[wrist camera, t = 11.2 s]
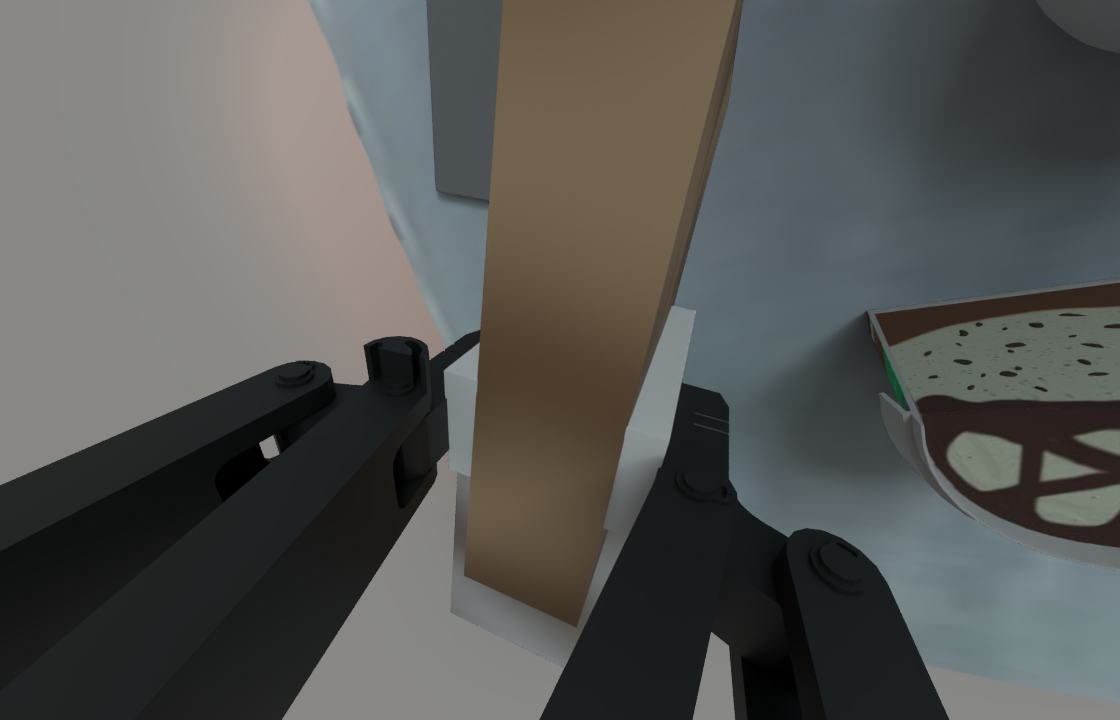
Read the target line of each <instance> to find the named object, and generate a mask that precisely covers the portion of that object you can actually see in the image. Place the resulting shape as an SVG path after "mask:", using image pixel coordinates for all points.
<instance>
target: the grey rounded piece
mask: <svg viewBox="0 0 1120 720" xmlns="http://www.w3.org/2000/svg"><path fill="white" fill-rule="evenodd" d="M1036 2H1037V3H1038V5H1039V6H1040V8H1041V9H1042V10H1043V12H1044V13H1045V14H1046V15H1047V16H1048V17H1049V18H1050V19H1051V20H1052V21H1053V22H1054V23H1055V24H1056V25H1057V26H1059V27H1060V28H1061V29H1062V30H1064V31H1065V32H1066V33H1068V34H1069V35H1071V36H1072V37H1074V38H1075V39H1077V40H1079V41H1080V42H1082V43H1085V44H1087V45H1089V46H1092V47H1095V48H1099V49H1103V50H1106V51H1111V52H1115V53H1120V0H1036Z"/></svg>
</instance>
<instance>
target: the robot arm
mask: <svg viewBox="0 0 1120 720" xmlns="http://www.w3.org/2000/svg"><path fill="white" fill-rule="evenodd" d="M695 315H696V311H694V310H690V309H685V308H681V307H676V306H672V307H671V310H670V312H669V315H668V318H667V321H666V323H665V326H664V329H663V332H662V334H661V337H660V340H659V343H658V345H657V348H656V351H655V353H654V356H653V359H652V362H651V364H650V367H649V370H648V373H647V375H646V378H645V381H644V384H643V386H642V389H641V392H640V395H639V397H638V400H637V403H636V405H635V408H634V411H633V414H632V416H631V419H630V422H629V425H628V427H627V428H626V432H625V436H624V443H623V447H622V452H621V456H620V460H619V464H618V468H617V472H616V476H615V480H614V484H613V488H612V493H611V497H610V501H609V505H608V509H607V513H606V517H605V521H604V525H603V528H604V529H606V530H609V531H612V532H614V533H617V534H619V535H622V536H625V537H627V539H626V541H625V543H624V545H623V547H622V550H621V552H620V554H619V556H618V558H617V560H616V562H615V564H614V566H613V568H612V570H611V572H610V574H609V577H608V579H607V581H606V583H605V585H604V587H603V589H602V591H601V593H600V595H599V597H598V599H597V601H596V604H595V606H594V608H593V610H592V612H591V614H590V616H589V618H588V620H587V622H586V624H585V626H584V628H583V631H582V633H581V635H580V637H579V639H578V641H577V643H576V645H575V647H574V649H573V651H572V653H571V655H570V657H569V660H568V662H567V664H566V666H565V668H564V670H563V672H562V674H561V676H560V678H559V680H558V682H557V684H556V687H555V689H554V691H553V693H552V695H551V697H550V699H549V701H548V703H547V705H546V707H545V709H544V712H543V714H542V716H541V718H540V720H693V715H694V710H695V705H696V700H697V696H698V691H699V686H700V682H701V677H702V672H703V667H704V662H705V658H706V653H707V648H708V643H709V639H710V634H711V632H713V633H714V634H715V635H717V636H718V637H719V638H720V639H721V640H723V641H724V642H725V643H726V644H728V645H729V650H730V662H731V673H732V685H733V698H734V710H735V720H949V718H948V716H947V714H946V711H945V709H944V707H943V705H942V703H941V700H940V698H939V696H938V694H937V691H936V689H935V687H934V685H933V683H932V681H931V678H930V676H929V674H928V672H927V670H926V667H925V665H924V663H923V661H922V658H921V656H920V654H919V652H918V650H917V647H916V645H915V643H914V641H913V639H912V636H911V634H910V632H909V630H908V627H907V625H906V623H905V621H904V619H903V616H902V614H901V612H900V610H899V608H898V605H897V603H896V601H895V599H894V597H893V594H892V592H891V590H890V588H889V586H888V584H887V582H886V580H885V579H884V577H883V576H882V574H881V573H880V571H879V570H878V568H877V566H876V565H874V564H873V563H872V562H871V561H870V560H869V559H868V558H867V557H866V556H865V555H864V554H863V553H862V552H861V551H860V550H859V549H857V548H856V547H854V546H853V545H851V544H850V543H848V542H847V541H845V540H844V539H842V538H840V537H837V536H835V535H833V534H830V533H828V532H825V531H823V530H815V529H808V528H806V529H802V530H798V531H795V532H793V533H792V535H791V536H790V537H789V538H788V537H787V536H785V535H783V534H782V533H780V532H778V531H777V530H775V529H773V528H772V527H770V526H768V525H767V524H765V523H763V522H762V521H760V520H759V519H758V518H756V517H755V516H753V515H752V514H751V513H750V512H748V511H747V510H746V509H745V508H744V507H743V506H742V505H741V504H740V502H739V501H738V500H737V492H736V491H735V489H734V487H733V485H732V484H731V482H730V480H729V435H728V433H729V423H728V422H729V407H728V405H727V404H726V402H725V400H724V399H723V397H722V396H721V394H720V393H716V392H713V391H709V390H706V389H702V388H698V387H695V386H691V385H687V384H684V383H682V378H683V373H684V368H685V363H686V358H687V354H688V349H689V344H690V339H691V334H692V329H693V325H694V320H695ZM480 331H481V330H478V331H475V332H472V333H469V334H466V335H465V336H463V337H462V338H460V339H459V340H458V341H456V342H455V343H454V345H453V344H452V345H451V346H449V347H448V348H446V349H445V351H442V352H441V353H439V354H438V355H436V356H435V357H434V358H432V359H431V360H429V351H428V346H427V345H426V344H425V343H424V342H422V341H421V340H418V339H415V338H412V337H402V336H396V337H385V338H381V339H377V340H373V341H371V342H369V343H367V344H365V345H364V350H365V357H366V363H367V369H368V375H369V380H368V381H367V382H366V383H365V384H364V385H362V386H360V385H349V384H338V383H334V382H333V377H332V373H331V368H329V367H328V366H327V365H326V364H324V363H319V362H316V361H296V362H291V363H286V364H284V365H281V366H277V367H274V368H272V369H269V370H267V371H265V372H263V373H260V374H258V375H256V376H253V377H251V378H249V379H246V380H244V381H242V382H239V383H237V384H235V385H232V386H230V387H228V388H225V389H223V390H221V391H219V392H216V393H214V394H211V395H209V396H207V397H204V398H202V399H200V400H197V401H195V402H193V403H191V404H188V405H186V406H184V407H181V408H179V409H177V410H174V411H172V412H170V413H167V414H165V415H163V416H160V417H158V418H156V419H153V420H151V421H149V422H146V423H144V424H142V425H139V426H137V427H135V428H132V429H130V430H128V431H125V432H123V433H121V434H118V435H116V436H114V437H112V438H109V439H107V440H105V441H102V442H100V443H98V444H95V445H93V446H91V447H88V448H86V449H84V450H81V451H79V452H77V453H74V454H72V455H70V456H67V457H65V458H63V459H60V460H58V461H56V462H53V463H51V464H49V465H47V466H44V467H42V468H39V469H37V470H35V471H32V472H30V473H28V474H26V475H23V476H21V477H19V478H16V479H14V480H12V481H10V482H7V483H5V484H2V485H0V720H282V718H283V717H284V715H285V714H286V712H287V711H288V709H289V708H290V706H291V704H292V703H293V701H294V700H295V698H296V697H297V695H298V694H299V692H300V690H301V689H302V687H303V685H304V684H305V683H306V681H307V680H308V678H309V676H310V675H311V673H312V672H313V670H314V668H315V667H316V665H317V664H318V662H319V661H320V659H321V658H322V656H323V654H324V653H325V652H326V650H327V648H328V647H329V645H330V643H331V642H332V641H333V639H334V638H335V636H336V634H337V633H338V631H339V630H340V628H341V627H342V625H343V624H344V622H345V620H346V619H347V617H348V616H349V614H350V613H351V611H352V610H353V608H354V606H355V604H356V603H357V602H358V600H359V599H360V597H361V596H362V594H363V592H364V591H365V589H366V588H367V586H368V585H369V583H370V582H371V580H372V578H373V577H374V575H375V574H376V572H377V571H378V569H379V567H380V566H381V564H382V563H383V561H384V560H385V558H386V557H387V555H388V554H389V552H390V550H391V549H392V547H393V546H394V544H395V542H396V541H397V539H398V538H399V536H400V535H401V533H402V532H403V530H404V529H405V527H406V526H407V524H408V522H409V521H410V519H411V518H412V516H413V515H414V513H415V512H416V510H417V508H418V507H419V505H420V504H421V502H422V501H423V499H424V498H425V496H426V494H427V493H428V491H429V490H430V488H431V487H432V485H433V484H434V482H435V479H436V476H437V462H438V461H439V460H440V459H441V457H442V456H443V455H444V454H445V453H446V452H447V451H448V464H449V469H451V470H454V471H456V472H459V473H461V474H464V475H467V476H469V477H471V463H472V449H473V434H474V419H475V405H476V392H477V385H478V380H477V375H478V361H479V346H480ZM272 435H273V436H274V439H275V442H276V445H277V448H278V451H279V455H278V456H275V457H273V458H270V459H267V458H264V456H263V453H262V450H261V447H260V445H259V443H260V442H261V441H263V440H265V439H267V438H269V437H270V436H272Z"/></svg>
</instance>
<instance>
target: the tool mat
mask: <svg viewBox="0 0 1120 720" xmlns="http://www.w3.org/2000/svg"><path fill="white" fill-rule="evenodd" d="M502 9H503V0H427V19H428V39H429V60H430V81H431V101H432V122H433V143H434V163H435V184H436V191H439V192H445V193H450V194H456V195H461V196H467V197H472V198H478V199H483V200H490V185H491V170H492V156H493V141H494V126H495V112H496V97H497V82H498V68H499V53H500V38H501V24H502Z"/></svg>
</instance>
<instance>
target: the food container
mask: <svg viewBox="0 0 1120 720" xmlns="http://www.w3.org/2000/svg"><path fill="white" fill-rule="evenodd" d="M867 316H868V324H869V331H870V334H871V336H872V339H873V341H874V343H875V346H876V348H877V351H878V353H879V356H880V358H881V360H882V363H883V365H884V368H885V370H886V373H887V375H888V377H889V380H890V382H891V385H892V387H893V390H894V392H895V394H896V397H897V399H898V402H899V404H900V406H899V405H898V404H897V403H896V402H895V401H894V400H892V399H891V398H890V397H889V396H888V395H886V394H885V393H884V392H883V393H879V399H880V407H881V415H882V418H883V421H884V423H885V426H886V429H887V432H888V435H889V437H890V439H891V440H892V442H893V443H894V445H895V447H896V448H897V450H898V451H899V453H900V455H901V456H902V457H903V458H904V459H905V460H906V462H907V463H908V464H909V465H910V466H911V467H912V468H913V469H914V470H915V471H916V472H917V473H918V474H919V475H920V476H921V477H922V478H923V479H924V480H925V481H926V482H927V483H928V484H929V485H930V486H931V487H932V488H933V489H934V490H935V491H936V492H937V493H938V494H939V495H940V496H941V497H943V498H944V499H945V500H946V501H948V502H949V503H950V504H952V505H953V506H954V507H956V508H957V509H958V510H960V511H961V512H962V513H963V514H965V515H967V516H969V517H971V518H972V519H974V520H976V521H978V522H979V523H981V524H982V525H984V526H985V527H987V528H989V529H991V530H993V531H994V532H996V533H998V534H1000V535H1002V536H1003V537H1005V538H1007V539H1009V540H1011V541H1014V542H1016V543H1019V544H1021V545H1024V546H1026V547H1028V548H1031V549H1033V550H1036V551H1038V552H1041V553H1045V554H1048V555H1051V556H1055V557H1058V558H1062V559H1065V560H1068V561H1072V562H1075V563H1080V564H1085V565H1090V566H1095V567H1100V568H1105V569H1110V570H1115V571H1120V277H1119V278H1112V279H1104V280H1096V281H1089V282H1081V283H1073V284H1066V285H1058V286H1051V287H1043V288H1035V289H1028V290H1020V291H1012V292H1005V293H997V294H989V295H982V296H974V297H967V298H959V299H951V300H944V301H936V302H928V303H921V304H913V305H906V306H898V307H890V308H883V309H875V310H867Z"/></svg>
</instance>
